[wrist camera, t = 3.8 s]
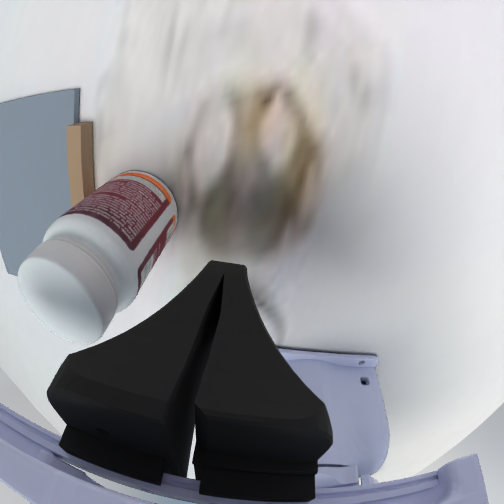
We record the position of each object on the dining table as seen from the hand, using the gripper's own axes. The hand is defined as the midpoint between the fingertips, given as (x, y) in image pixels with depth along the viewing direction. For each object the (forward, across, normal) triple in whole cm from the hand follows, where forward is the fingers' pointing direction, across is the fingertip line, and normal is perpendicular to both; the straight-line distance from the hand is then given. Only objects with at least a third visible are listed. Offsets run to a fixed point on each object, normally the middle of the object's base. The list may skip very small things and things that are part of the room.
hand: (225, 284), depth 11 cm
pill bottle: (+6, +6, 0) cm, 8 cm away
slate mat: (+5, +15, 0) cm, 16 cm away
